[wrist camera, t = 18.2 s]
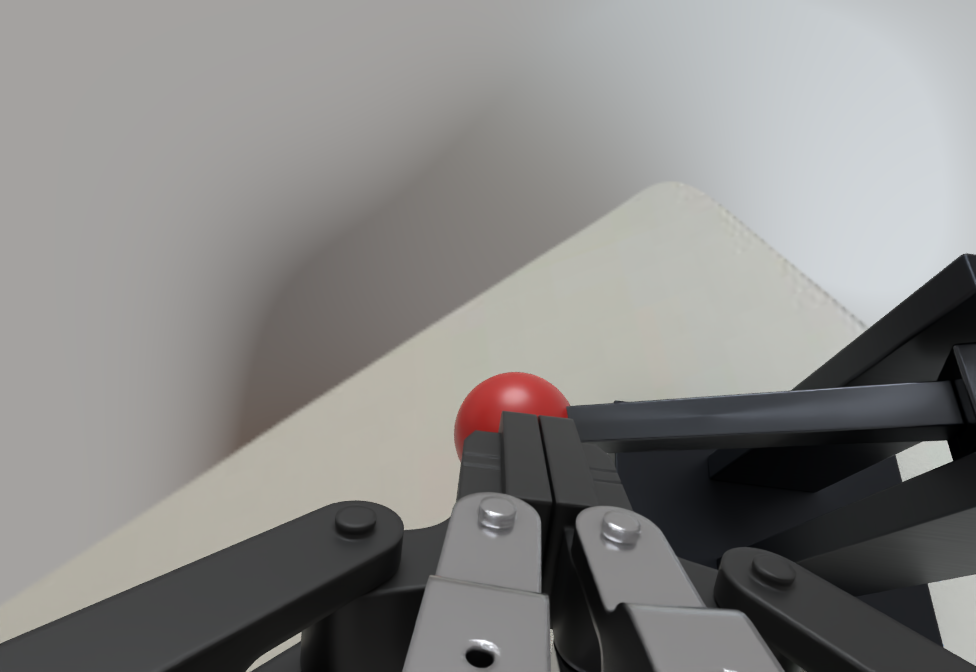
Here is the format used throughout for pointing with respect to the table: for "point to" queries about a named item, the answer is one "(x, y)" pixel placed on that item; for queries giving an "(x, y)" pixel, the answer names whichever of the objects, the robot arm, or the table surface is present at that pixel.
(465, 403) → the latch lever
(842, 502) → the bracket
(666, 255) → the table surface
